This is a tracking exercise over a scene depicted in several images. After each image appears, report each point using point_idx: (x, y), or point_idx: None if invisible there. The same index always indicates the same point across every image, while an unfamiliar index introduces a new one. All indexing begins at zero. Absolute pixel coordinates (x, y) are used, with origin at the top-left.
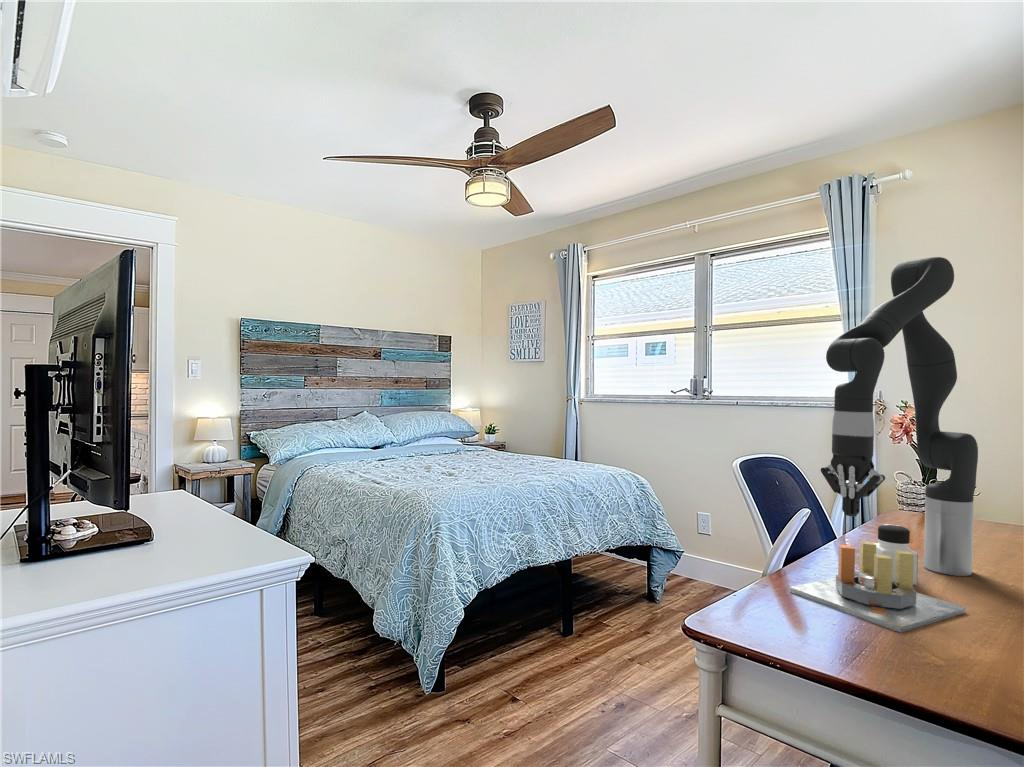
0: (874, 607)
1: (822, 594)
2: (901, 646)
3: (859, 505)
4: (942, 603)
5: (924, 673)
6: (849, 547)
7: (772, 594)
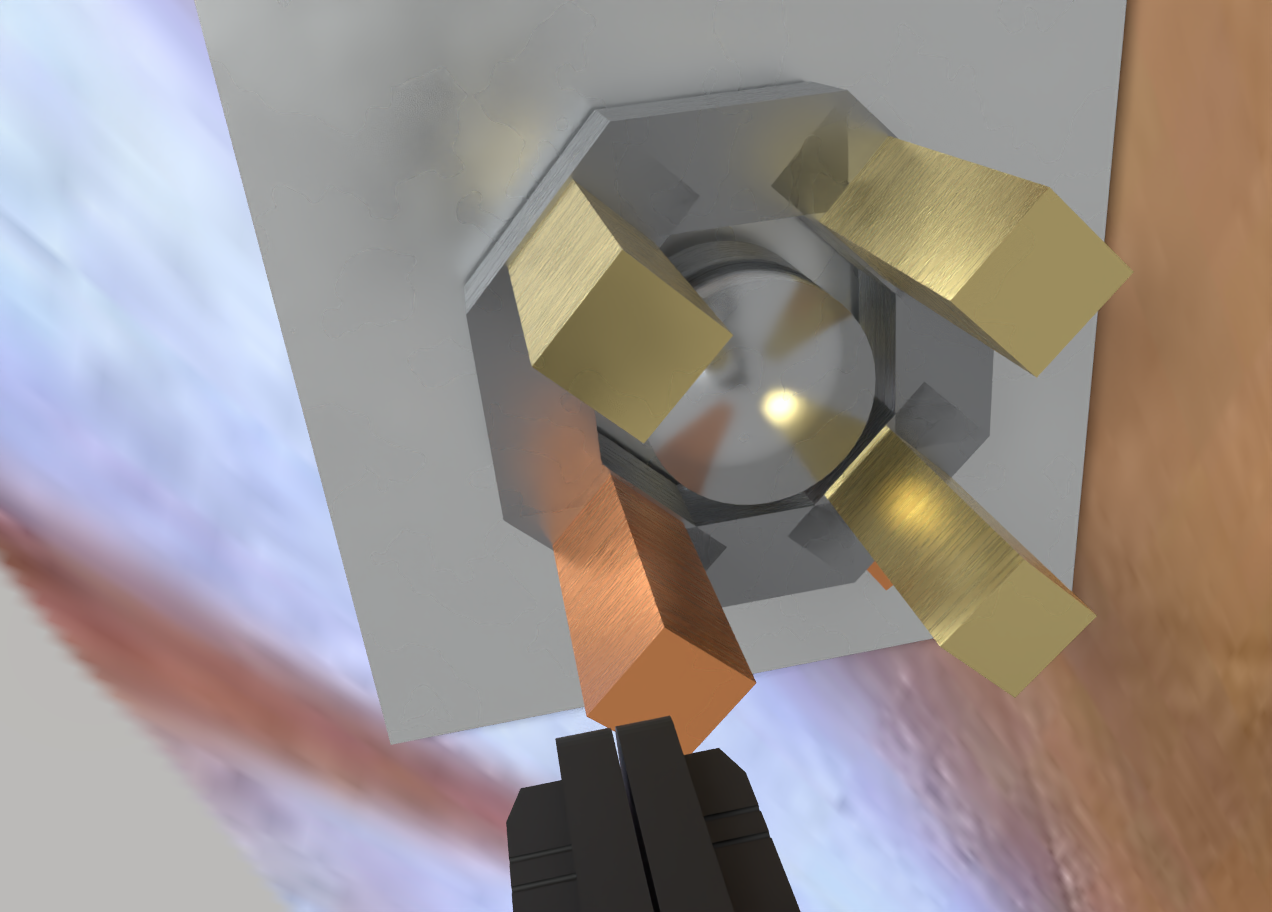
0: None
1: (567, 645)
2: (1123, 706)
3: (774, 854)
4: None
5: (1266, 805)
6: (702, 696)
7: (404, 836)
